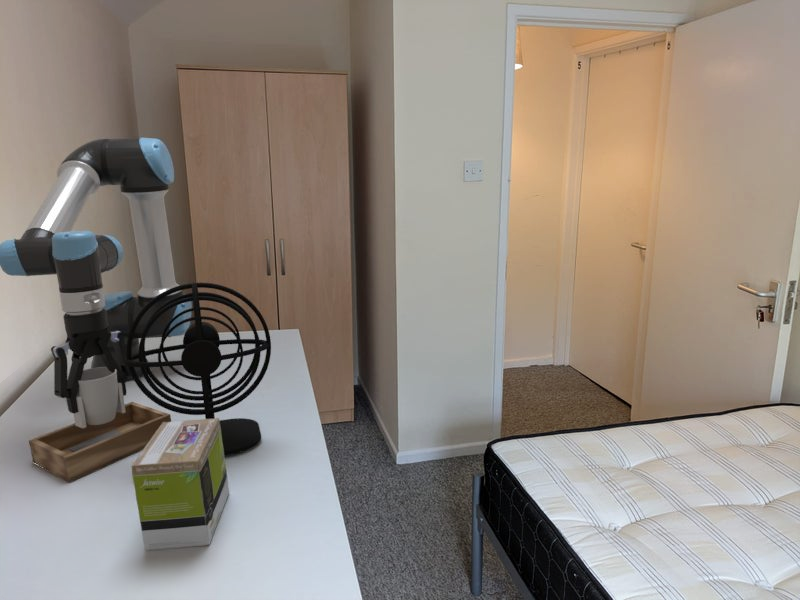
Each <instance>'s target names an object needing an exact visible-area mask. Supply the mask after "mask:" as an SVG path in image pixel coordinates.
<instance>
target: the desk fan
mask: <svg viewBox="0 0 800 600" xmlns="http://www.w3.org/2000/svg"><path fill="white" fill-rule="evenodd" d="M179 285H180V286H176V287H173V288H171V289H169V290H166V291H164V292H163V293H161V294H159V295H158V296H156V297H155V298H153V299H152V300H151V301H150V302H149V303H148V304H147V305H146V306H145V307H144V308H143V309H142V310H141V311H140V313H139V314H138V316H137V317H136V319H135V321H134V323H133V325H132V327H131V330H130V332H129V336H128V340H127V357H126V358H125V365H127V366H129V370H130V373H131V375H132V377H133V381H134V383H135V384H136V386H137V387H138V389H139V390H140V391H141V392H142V393H143V394H144V395H145V397H147V398H148V399H149V400H150V401H152V402H153V403H155V404H156V405H158V406H159V407H161V408H164V409H165V410H168V411H171V412H174V413H178V414H180V415H181V414H182V415H188V416H189V415H191V416H204V417H205V418H204V419H214V418H216V416H215V413H220V412H224V411H225V410H228V409H230V408H232V407H234V406H236V405H238V404H239V403H241V402H243V401H244V400H245V399H247V398H248V397H249V395H251V394H252V393H253V392H254V391H255V390H256V388H258V386H259V385H260V383H261V382H262V380H263V379H264V377H265V375H266V373H267V370H268V367H269V364H270V360H271V356H272V342H271V336H270V330H269V328H268V326H267V323H266V320H265V318H264V316H263V314H262V313H261V312H260V311H259V309H258V308H257V306H256V305H255V304H254V303H253V302H252V301H251V300H249V299H248V298H247V297H246V296H244V295H243V294H241V293H240V292H238V291H237V290H234V289H232V288H231V287H227V286H225V285H222V284H221V285H220V284H217V283H211V282H192V283H191V282H190V283H185V284H179ZM199 288H200V289H202V288H204V289H205V288H206V289H214V290H219V291H222V292H225V293H228V294H230V295H232V296H234V297H236V298H238V299H239V300H241V301H242V302H244V303H245V304H246V305H247V306H248V307H249V308H250V309H251V310H252V311H253V312H254V313H255V315H256V316H257V318H258V319H259V321H260V323H261V325H262V328H263V330H264V335H265V339H260V337H259V333H258V330H257V328H256V326H255V323H254V322H253V320H252V318H251V316H250V315H249V313H248V312H247V311H246V310H245V309H244V308H243V306H241V305H240V304H239V303H237V302H236V301H234V300H233V299H230V298H229V297H227V296H225V295H221V294H219V293H213V292H207V291H205V292H204V291H202V292H201V291H199ZM188 289H191V292H189V293H183V294H184V295H181V296H178V297H176V298H173V299H171V300H170V301H168V302H166V303H165V304H163V305H162V306H161V307H160V308H159V309H158V310H157V311H156V312H155V313H154V314H153V315H152V316H151V318H150V319H149V321H148V323H147V324H146V327H145V329H144V332H143V334H142V337H141V338H140V339H139V353H136V354H133V355H132V340H133V336H134V332H135V329H136V327H137V325H138V323H139V321H140V320H141V318H142V317H143V315H144V314H145V313H146V312H147V311H148V309H149V308H150V307H152V306H153V305H154V304H155V303H156V302H158V301H159V300H161V299H162V298H164V297H166V296H168V295H170V294H172V293H174V292H177V291H180V290H188ZM189 301H191V302H192V306H193V307H192V308H191V309H187V310H185V311H183V312H181V313H179V314H177V315H176V316H175V317H174V318H172V319H171V321H170V322H169V323H168V324H167V326H166V327H165V329H164V332H163V335H162V337H161V339H160V344H159V347H157V348H154V349H153V348H152V349H149V350H148V349H147V350H146V347H145V346H146V339H147V338H146V335H147V332H148V331H149V329H150V327H151V326H152V324H153V323H154V322H155V321H156V319H157V318H158V317H159V316H161V315H162V314H163V313H164V312H166V311H167V310H169V309H170V308H172V307H174V306H176V305H179V304H182V303H185V302H189ZM200 301H208V302H215V303H218V304H222V305H224V306H226V307H228V308H231V309H232V310H234V312H237V314H239V315H241V317H242V318H243V319H244V320H245V321H246V322H247V324H248V325H249V326H250V328H251V330H252V333H253V336H254V338H241V335H240V331H239V329H238V327H237V324H235V322H234V320H232V318H230V316H228V315H227V314H226V313H225V312H224V311H223V312H222V311H221V310H219V309H215V308H213V307H207V306H201V305H200ZM190 311H192V312H193V314H194V316H191V318H188V319H185V320H183V321H181V322H179V323H177V324H176V325H174V326H173V327H172V328H171V329H170V330H169V331H168V332H167V333H166V331H167V329H168V328H169V326H170V325H171V323H172V322H173V321H174V320H175V319H177V318H178V317H179V316H181V315H183V314H185V313H187V312H190ZM201 311H210V312H214V313H216V314H218V315H221V316H222V317H224V318H225V319H226V320H227V321H228V322H229V323H230V324H231V326H233V327H231V326H230V324H228V323H226V322H224V321H223V320H221V319H218V318H215V317H211V316H202V314H201ZM202 320H206V321H207V320H208V321H212V322H215V323H219V324H221V325H223V326H224V327H225V328H227V329H228V330H229V331H230V332H231V333H232V334H233V336H235V338H236V339H233V338H232V339H220V334H219V332H218V329H217V328H216V327H215V326H214V325H213V324H211V323H209V322H206V321H202ZM189 321H190V322H191V321H194V322H193V323H192V324H190V325H189V328H188V329H187V330H186V332H185V334H184V335H183V339H182V344H177V345H170V346H165V347H164V343H165V342H166V339H167V338H168V337H167V336H168V335H169V334H170V333H171V332H172V331H173V330H174V329H175V328H177V327H178V326H180V325H181V324H183V323H186V322H189ZM233 328H234V329H233ZM165 333H166V334H165ZM244 344H245V345H248V344H249V345H254V348H251V349H247V350H244V349H243V345H244ZM222 345H223V346H224V345H237V348H236V349H237V350H236V352H233V353H232V352H231V353H226V354H222V352H221V350H220V348H219V347H220V346H222ZM180 350H183V351H182V353H181V356H180V360H168V357H167V356H166V353H167V352H173V351H180ZM263 351H265V358H264V362H263V365H262V368H261V370H260V371H259V373H258V375H257V377H256V378H255V380H254V382H253V383H252V384H251V382H252V380H253V378H254V377H255V375H256V373H257V372H258V371H257V370H258V368H259V365H260V361H261V352H263ZM156 354H157V361H148V359H147V356H152V355H156ZM249 355H253V357H252V359H251V363H250V365H249V366H248V369H246V370H247V371H246V372H245V373H244V374H243V375H242V377H241V378H240V379H239V380H238V381H236V382H235V383H234V384H232V385H231V386H229V387H228V388H226V386H228V385H229V384H230V383H232V382H233V381H234V380H235V378H236V377H237V375H239V372H240V370H241V368H242V364H243V361H244V357H247V356H249ZM162 357H163V360H164V361H162ZM138 358H139V362H136V361H133V360H135V359H138ZM238 358H240V359H239V363H238V365H237V368H236V370H235V371H234V373H233V375H231V377H229V379H228V380H226V381H225V382H224V383H223V384H221V385H219V386H217V387H215V388H212V381H211V380H212V379H215V378H218V377H219V376H222V375H223V374H225V373H226V372H228V371H229V370H230V369H231V367H233V365H234V364H235V362H236V361H237V359H238ZM146 359H147V360H146ZM225 360H231V362H230V363H229V364H228V365H227V366H226V367H225V368H224V369H222V370H221V371H220V372H217V373H215V372H216V371H217V370H218V369H219V368H220V366H221V363H222V361H225ZM147 361H148V362H147ZM178 366H182V367H183V369H184V370H185V371H186V372H187V373H188V375H187V374H185V373H183V372H181V371H179V370H178V369H177V368H175V367H178ZM135 367H140V368H141V371H142V374H143V376H142V377H143V378H144V379H145V381H146V383H147V384H148V385H149V387H150V388H151V389H152V390H153V391H154V392H155V393H156V394H158V396H160V397H161V398H159V397H158V396H157V395H155V394H154V393H153V392H151V391H150V390H149V389H148V387H147V386H146V385H145V384H144V382H143V381H142V380H141V377H139V376H138V374H137V372H136V370H135ZM164 367H165V368H167V367H169V369H171V371H173V372H174V373H175V374H177V375H178V376H180V377H183V378H184V379H187V380H192V381H201V389H202V390H191V389H188V388H184V387H182V386H180V385H178V384H177V383H175V382H174V381H173V380H172V379H171V378H170V377H169V376H168V375H167V373H166V371H165V370H164ZM152 368H159V370H160V372H161V374H162V376H163V377H164V379H165V380H166V381H167V382H168V383H169V384H170V385H171V386H172V387H174V388H175V389H177V390H179V391H181V392H184V393H180V392H178V391H175V390H173V389H171V388H169V387H168V386H167V385H165V384H163V382H161V381H160V380H159V379H158V378H157V376H155V374H154V373H153V371H152ZM213 373H215V374H213ZM212 374H213V375H212ZM191 375H192V376H191ZM249 384H251V385H250V386H249ZM248 386H249V388H247V387H248ZM223 388H225V389H224V390H222V389H223ZM246 388H247V389H246ZM245 389H246V390H245ZM220 390H222V391H220ZM243 390H245V391H244V392H243ZM218 391H219V392H218ZM165 392H166V393H165ZM241 392H243V393H242V394H241ZM185 393H187V394H185ZM229 393H230V394H229ZM188 394H190V395H188ZM239 394H240V395H239ZM170 395H171V396H170ZM225 395H226V396H225ZM238 395H239V396H238ZM173 396H174V397H173ZM223 396H224V397H223ZM236 396H238V397H236ZM221 397H222V398H221ZM235 397H236V398H235ZM162 398H163V399H164V400H166V401H168V402H166V401H164V400H163V399H162ZM177 398H179V399H177ZM218 398H219V399H218ZM233 398H234V399H233ZM180 399H183V400H180ZM215 399H216V400H215ZM184 400H186V401H184ZM188 400H189V401H196V402H189V401H188ZM197 401H198V402H197ZM200 401H203V402H200ZM228 401H229V402H228ZM172 403H173V404H172ZM224 403H225V404H224ZM174 404H175V405H174ZM220 404H221V405H220ZM176 405H177V406H176ZM181 406H182V407H181ZM186 407H187V408H186ZM219 420H220V419H219ZM220 427H221V435H222V442H223V449H224V457H225V456H230V455H234V454H235V455H236V454H239V453H242V452H246V451H248V450H250V449H252V448H254V447H256V446H257V445H259V444H260V442H261V441H262V433H261V429H260V428H261V427H260V424H259V422H257V421H256V420H254V419H250V418H242V417H241V418H228V419H221V420H220Z"/></svg>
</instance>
